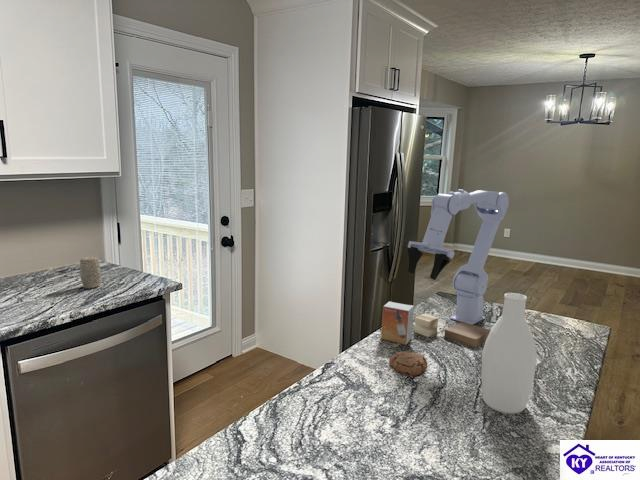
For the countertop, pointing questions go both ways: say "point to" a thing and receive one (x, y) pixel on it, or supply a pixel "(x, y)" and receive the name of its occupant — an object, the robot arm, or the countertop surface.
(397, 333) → the small box
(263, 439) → the countertop surface
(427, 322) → the maple cube
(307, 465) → the countertop surface
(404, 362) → the cookie
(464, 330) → the walnut block
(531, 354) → the bottle
